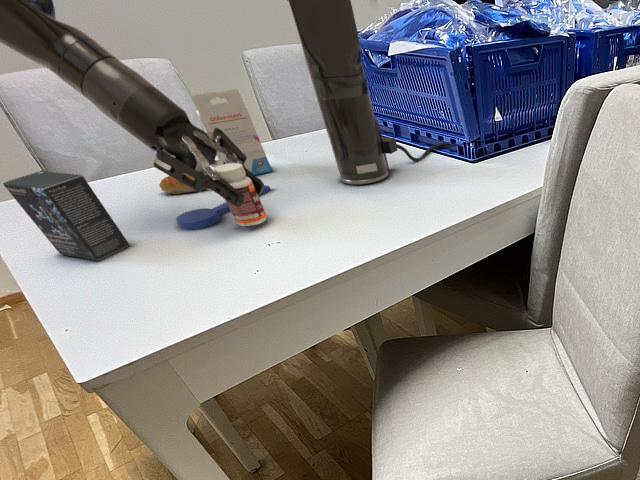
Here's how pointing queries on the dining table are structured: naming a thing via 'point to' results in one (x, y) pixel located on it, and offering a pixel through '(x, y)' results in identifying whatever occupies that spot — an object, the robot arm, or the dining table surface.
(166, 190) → the pastry
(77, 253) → the box
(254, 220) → the pill bottle
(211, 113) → the ink box
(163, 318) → the dining table surface
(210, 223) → the spoon
